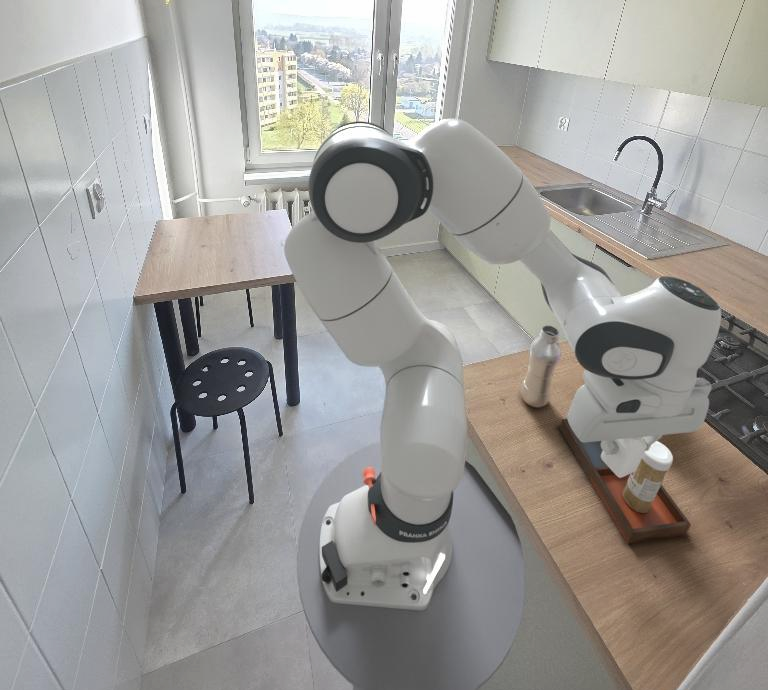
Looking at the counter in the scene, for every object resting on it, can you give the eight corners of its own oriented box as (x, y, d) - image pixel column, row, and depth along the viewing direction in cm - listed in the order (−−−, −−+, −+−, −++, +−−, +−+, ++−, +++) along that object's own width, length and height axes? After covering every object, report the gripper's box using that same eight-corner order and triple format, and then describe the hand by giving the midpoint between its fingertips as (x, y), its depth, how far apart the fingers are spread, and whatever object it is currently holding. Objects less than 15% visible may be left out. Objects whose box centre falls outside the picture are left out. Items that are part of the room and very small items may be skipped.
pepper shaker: (619, 480, 64) (637, 437, 60) (598, 457, 67) (614, 415, 63) (637, 472, 65) (656, 429, 61) (615, 449, 69) (632, 408, 65)
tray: (627, 543, 70) (632, 533, 69) (559, 428, 90) (562, 419, 89) (685, 535, 72) (691, 524, 70) (605, 424, 91) (609, 414, 90)
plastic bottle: (513, 398, 97) (528, 329, 89) (528, 383, 101) (544, 317, 93) (538, 416, 93) (557, 346, 85) (553, 400, 97) (572, 331, 89)
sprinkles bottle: (619, 485, 78) (639, 435, 73) (646, 492, 77) (668, 442, 72) (624, 509, 74) (646, 458, 69) (653, 518, 73) (677, 467, 68)
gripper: (697, 361, 64) (667, 425, 69) (573, 370, 61) (553, 436, 66) (734, 395, 58) (698, 461, 63) (600, 406, 55) (575, 475, 60)
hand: (623, 448), depth 65 cm, fingers closed on pepper shaker, 4 cm apart
